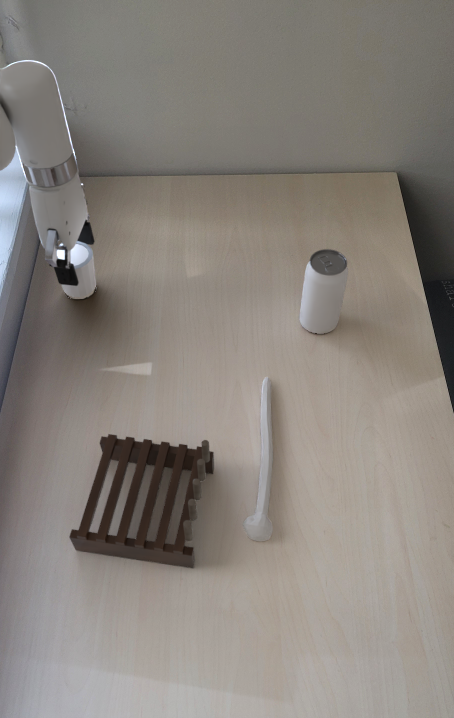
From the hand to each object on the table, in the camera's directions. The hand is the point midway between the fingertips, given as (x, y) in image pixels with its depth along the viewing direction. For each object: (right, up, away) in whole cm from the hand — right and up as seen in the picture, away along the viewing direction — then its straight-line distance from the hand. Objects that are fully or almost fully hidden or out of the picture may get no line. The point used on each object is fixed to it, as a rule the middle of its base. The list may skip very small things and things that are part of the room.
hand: (77, 263), depth 105 cm
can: (+40, -9, +1) cm, 41 cm away
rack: (+14, -40, -17) cm, 46 cm away
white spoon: (+29, -33, -12) cm, 46 cm away
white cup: (-1, -3, +5) cm, 5 cm away
